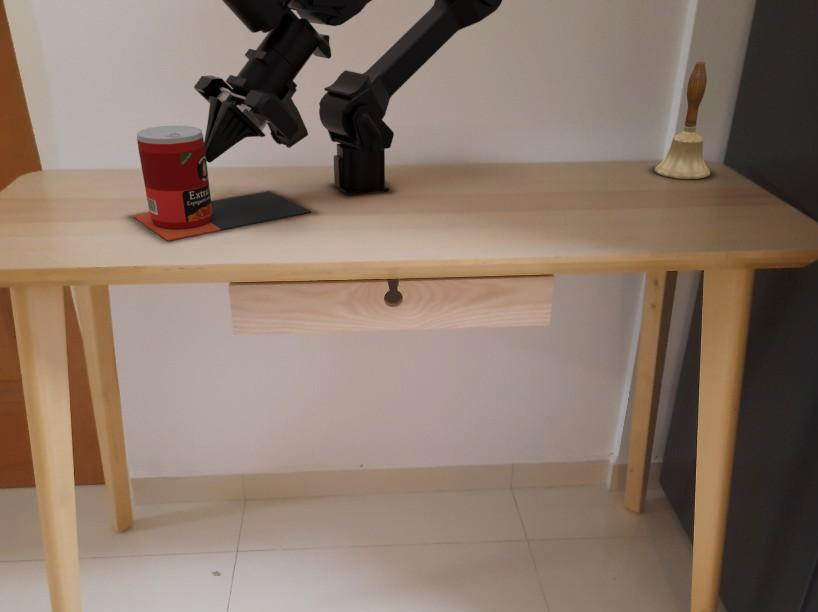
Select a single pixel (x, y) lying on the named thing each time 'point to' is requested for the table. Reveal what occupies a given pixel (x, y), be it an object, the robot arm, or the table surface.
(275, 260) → the table surface
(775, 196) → the table surface
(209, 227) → the pad
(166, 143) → the canned food
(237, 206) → the mat
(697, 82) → the hand bell
